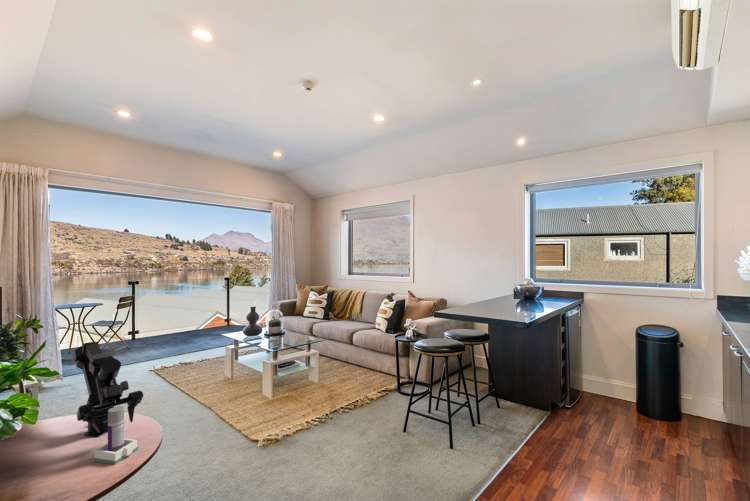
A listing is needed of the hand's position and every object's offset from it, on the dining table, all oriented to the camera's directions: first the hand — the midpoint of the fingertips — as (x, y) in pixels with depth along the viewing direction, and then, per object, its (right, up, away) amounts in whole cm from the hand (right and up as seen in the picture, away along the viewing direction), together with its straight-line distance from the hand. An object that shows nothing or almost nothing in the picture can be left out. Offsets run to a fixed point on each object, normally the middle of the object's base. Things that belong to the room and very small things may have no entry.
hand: (116, 426), depth 124 cm
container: (0, -9, 0) cm, 9 cm away
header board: (0, -10, 0) cm, 10 cm away
